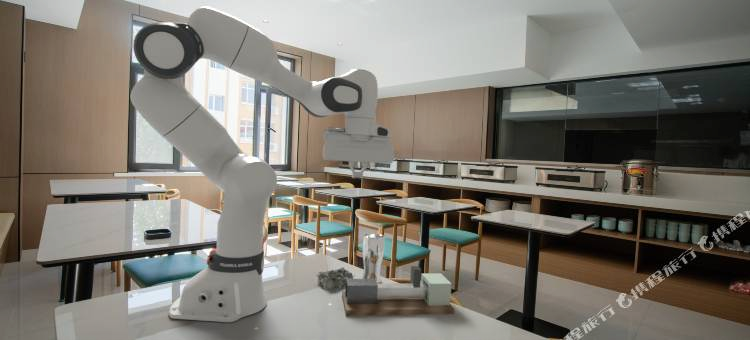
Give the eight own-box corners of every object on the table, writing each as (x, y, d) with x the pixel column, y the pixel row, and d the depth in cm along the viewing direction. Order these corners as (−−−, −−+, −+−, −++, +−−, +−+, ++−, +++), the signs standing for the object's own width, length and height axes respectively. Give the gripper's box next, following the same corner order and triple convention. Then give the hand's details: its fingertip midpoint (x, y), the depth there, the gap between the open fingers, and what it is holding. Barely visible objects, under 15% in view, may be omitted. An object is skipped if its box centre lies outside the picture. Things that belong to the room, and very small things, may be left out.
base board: (345, 316, 92) (346, 310, 92) (341, 296, 104) (342, 291, 104) (454, 313, 97) (454, 308, 97) (438, 295, 109) (439, 290, 109)
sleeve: (346, 304, 96) (347, 285, 95) (345, 296, 100) (346, 278, 100) (376, 303, 97) (377, 285, 97) (373, 296, 102) (374, 278, 102)
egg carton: (325, 291, 108) (326, 277, 108) (314, 283, 114) (314, 270, 114) (355, 285, 114) (356, 272, 114) (343, 277, 120) (344, 265, 120)
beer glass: (379, 286, 113) (382, 239, 113) (358, 283, 115) (361, 236, 114) (383, 279, 120) (386, 234, 119) (363, 276, 122) (366, 232, 121)
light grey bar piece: (363, 299, 97) (365, 269, 97) (362, 294, 100) (363, 265, 100) (438, 298, 101) (440, 269, 100) (434, 293, 104) (436, 266, 103)
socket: (428, 311, 98) (430, 283, 98) (419, 298, 106) (421, 273, 105) (449, 310, 99) (451, 283, 99) (439, 298, 107) (441, 273, 106)
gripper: (323, 126, 98) (320, 177, 98) (397, 131, 101) (394, 180, 102) (322, 127, 104) (320, 175, 105) (392, 132, 108) (389, 178, 108)
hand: (357, 178), depth 103 cm, fingers closed
